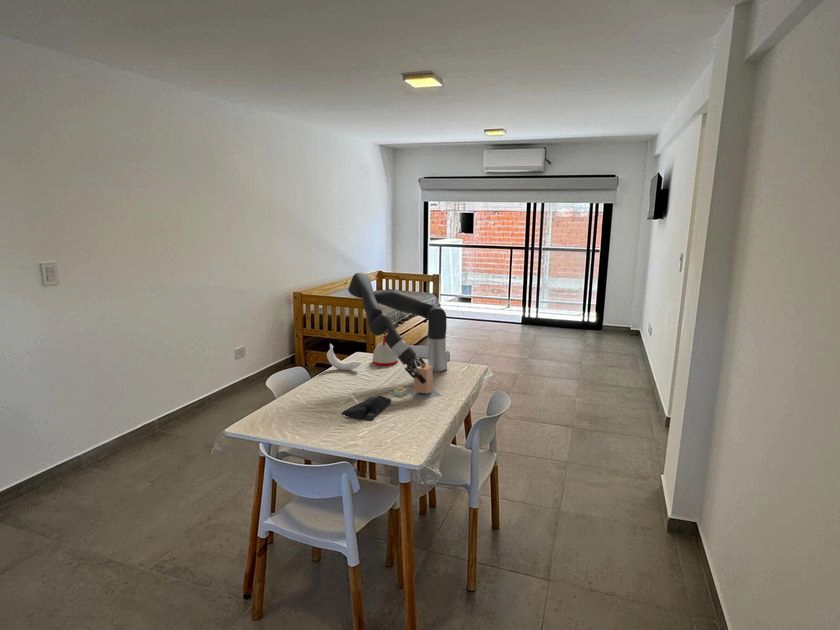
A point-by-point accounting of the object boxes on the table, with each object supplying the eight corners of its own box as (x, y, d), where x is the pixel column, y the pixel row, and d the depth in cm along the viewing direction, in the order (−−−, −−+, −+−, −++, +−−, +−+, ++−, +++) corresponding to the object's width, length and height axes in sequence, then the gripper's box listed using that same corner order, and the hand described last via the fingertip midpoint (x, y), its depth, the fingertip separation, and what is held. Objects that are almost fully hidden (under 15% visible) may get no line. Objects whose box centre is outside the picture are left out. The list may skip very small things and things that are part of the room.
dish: (398, 392, 226) (398, 387, 226) (407, 394, 224) (406, 388, 224) (393, 396, 222) (393, 390, 222) (402, 397, 220) (402, 391, 220)
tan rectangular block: (420, 387, 228) (420, 361, 225) (432, 389, 225) (432, 363, 223) (414, 391, 222) (414, 365, 220) (427, 393, 219) (426, 367, 217)
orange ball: (402, 392, 225) (402, 385, 225) (404, 394, 222) (404, 388, 222) (396, 393, 224) (396, 386, 223) (398, 395, 221) (398, 389, 221)
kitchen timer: (399, 359, 280) (399, 333, 277) (396, 366, 266) (395, 339, 263) (375, 358, 281) (374, 332, 278) (370, 365, 267) (369, 338, 264)
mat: (430, 388, 231) (430, 387, 231) (442, 396, 221) (442, 395, 220) (407, 392, 227) (407, 391, 227) (417, 401, 216) (417, 399, 216)
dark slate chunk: (397, 404, 213) (397, 394, 212) (370, 423, 194) (369, 412, 193) (367, 399, 220) (367, 389, 219) (338, 417, 201) (337, 406, 200)
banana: (360, 372, 256) (359, 345, 253) (325, 370, 260) (324, 343, 257) (363, 369, 261) (362, 342, 258) (329, 367, 265) (328, 341, 262)
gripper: (405, 352, 232) (429, 380, 230) (390, 361, 220) (415, 390, 217) (415, 343, 229) (439, 370, 226) (401, 350, 216) (426, 380, 214)
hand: (427, 380), depth 222 cm, fingers closed on tan rectangular block, 6 cm apart
